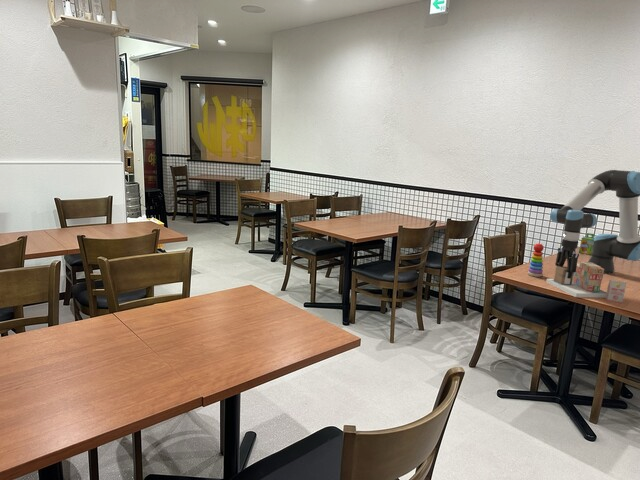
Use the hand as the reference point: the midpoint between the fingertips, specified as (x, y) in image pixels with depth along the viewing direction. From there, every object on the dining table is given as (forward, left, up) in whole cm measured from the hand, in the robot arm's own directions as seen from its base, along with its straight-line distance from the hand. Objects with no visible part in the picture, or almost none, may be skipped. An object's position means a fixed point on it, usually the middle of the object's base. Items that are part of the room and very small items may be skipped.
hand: (562, 281), depth 236 cm
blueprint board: (-5, +5, -3) cm, 7 cm away
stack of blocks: (-9, +4, -1) cm, 10 cm away
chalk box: (-75, -80, -3) cm, 110 cm away
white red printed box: (-13, +21, -3) cm, 25 cm away
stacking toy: (+3, -20, -3) cm, 20 cm away
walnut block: (0, 0, 0) cm, 0 cm away
